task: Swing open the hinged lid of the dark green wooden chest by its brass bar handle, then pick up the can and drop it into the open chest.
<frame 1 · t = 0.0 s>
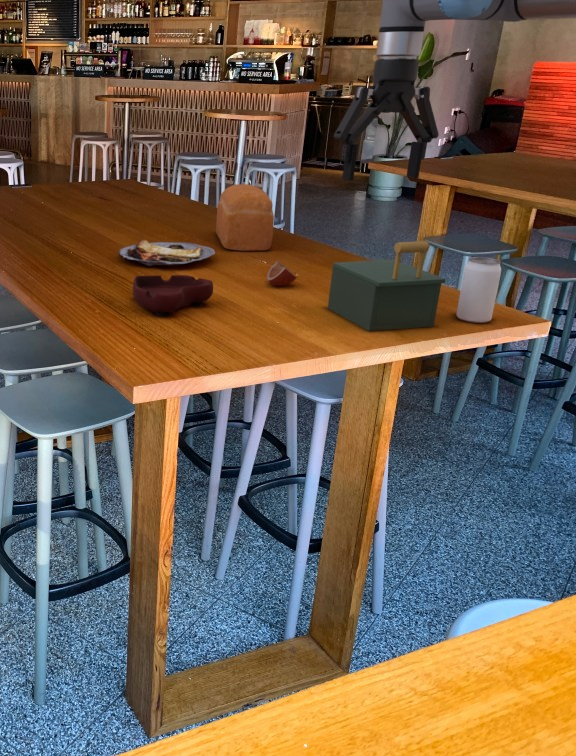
hand: (380, 178, 151), 28 cm above the table, tool pointing down, fingers open, 13 cm apart
ashtray: (163, 305, 170), on the table
lid: (389, 254, 156), point 13 cm above the table, hinge at 0.0°
fruit slice: (280, 285, 185), on the table
can: (473, 319, 160), on the table
bread: (242, 242, 231), on the table
chest: (378, 317, 161), on the table
food plate: (165, 260, 210), on the table
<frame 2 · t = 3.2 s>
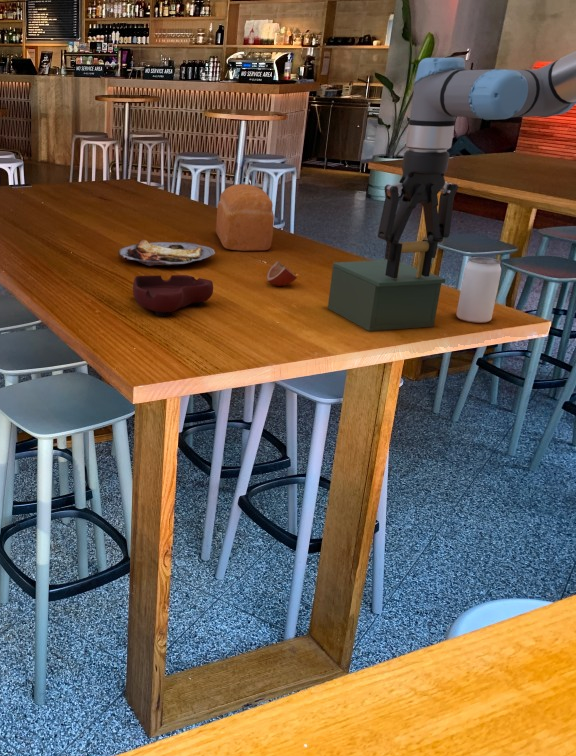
hand: (407, 275, 151), 10 cm above the table, tool pointing down, fingers closed on lid, 6 cm apart
lid: (389, 254, 156), point 13 cm above the table, hinge at 0.0°, touching gripper
everything else where it was.
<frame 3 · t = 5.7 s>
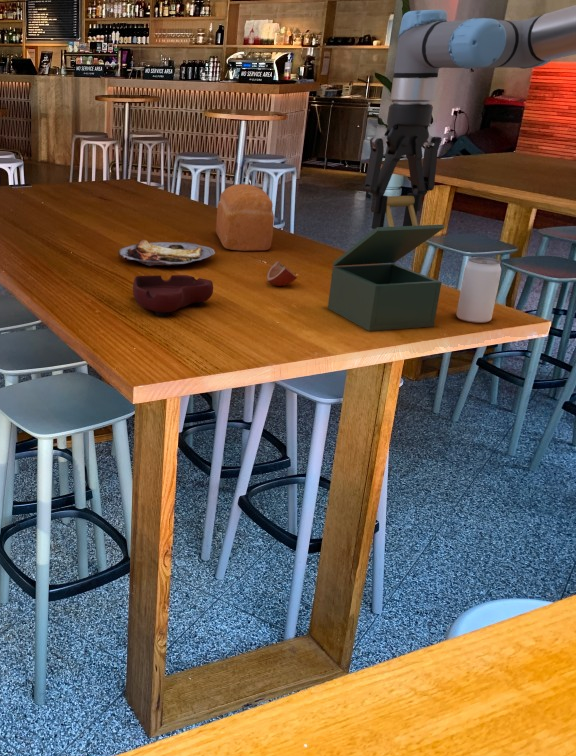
hand: (392, 228, 154), 18 cm above the table, tool pointing down, fingers closed on lid, 6 cm apart
lid: (382, 229, 157), point 17 cm above the table, hinge at 35.5°, touching gripper
everything else where it was.
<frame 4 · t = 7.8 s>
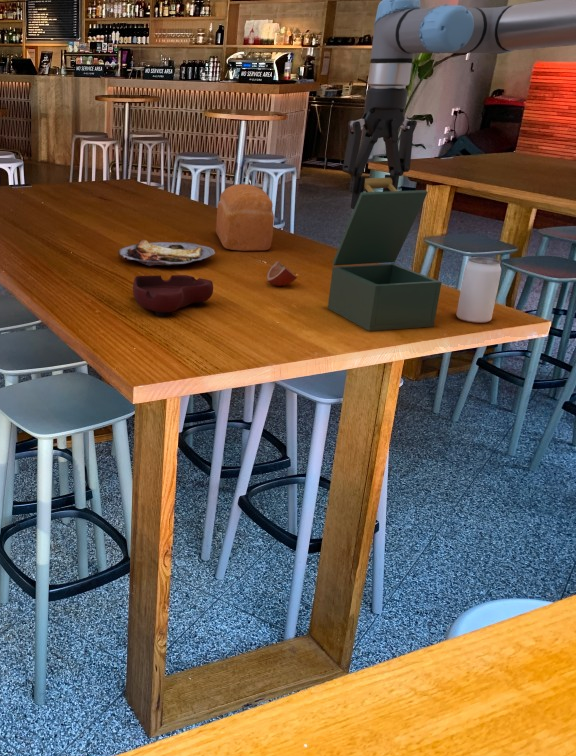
hand: (370, 208, 161), 21 cm above the table, tool pointing down, fingers closed on lid, 6 cm apart
lid: (370, 218, 161), point 19 cm above the table, hinge at 65.4°, touching gripper
everything else where it was.
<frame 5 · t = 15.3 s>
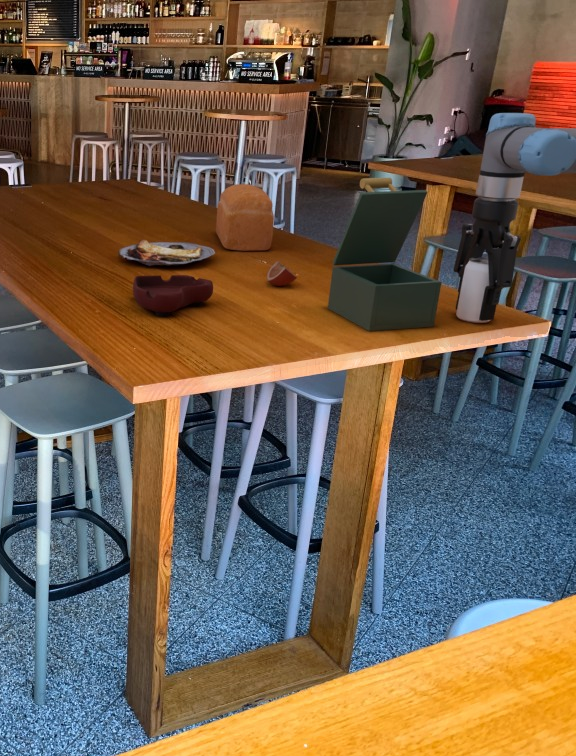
hand: (474, 314, 159), 1 cm above the table, tool pointing down, fingers closed on can, 6 cm apart
lid: (370, 218, 161), point 19 cm above the table, hinge at 65.5°
can: (473, 319, 160), on the table, touching gripper
everything else where it was.
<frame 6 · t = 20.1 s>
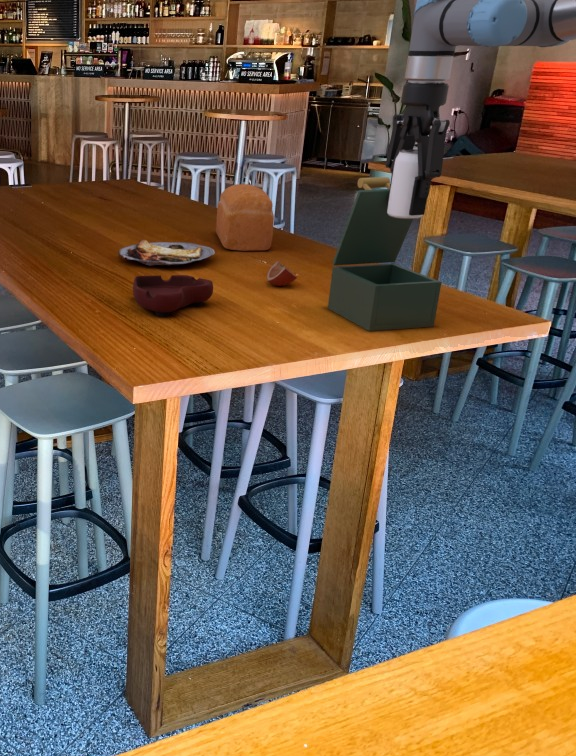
hand: (405, 210, 151), 22 cm above the table, tool pointing down, fingers closed on can, 6 cm apart
lid: (369, 218, 162), point 19 cm above the table, hinge at 68.3°, touching gripper
can: (404, 217, 151), point 21 cm above the table, touching gripper
everything else where it was.
when the fingers open (22 cm above the table, at t = 20.7 s): can drops 20 cm, resting on chest.
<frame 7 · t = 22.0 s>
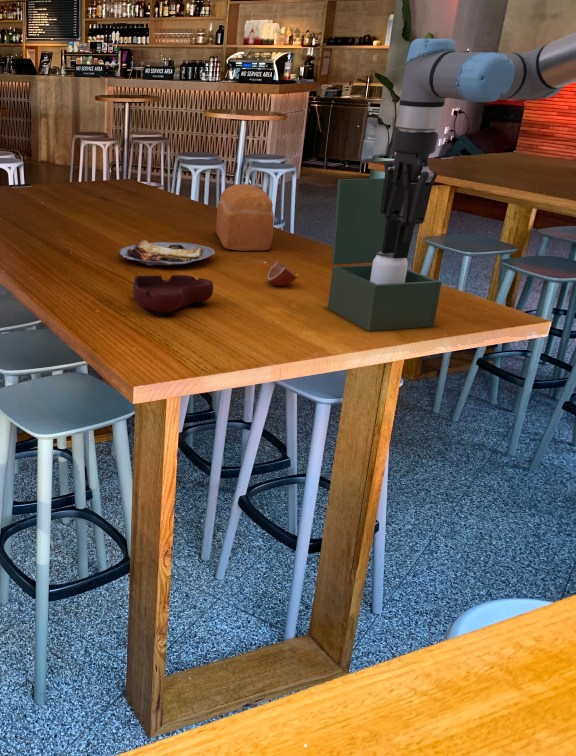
hand: (394, 254, 155), 13 cm above the table, tool pointing down, fingers open, 3 cm apart
lid: (357, 220, 166), point 18 cm above the table, hinge at 95.6°
can: (382, 313, 161), point 1 cm above the table, touching chest, gripper
everything else where it was.
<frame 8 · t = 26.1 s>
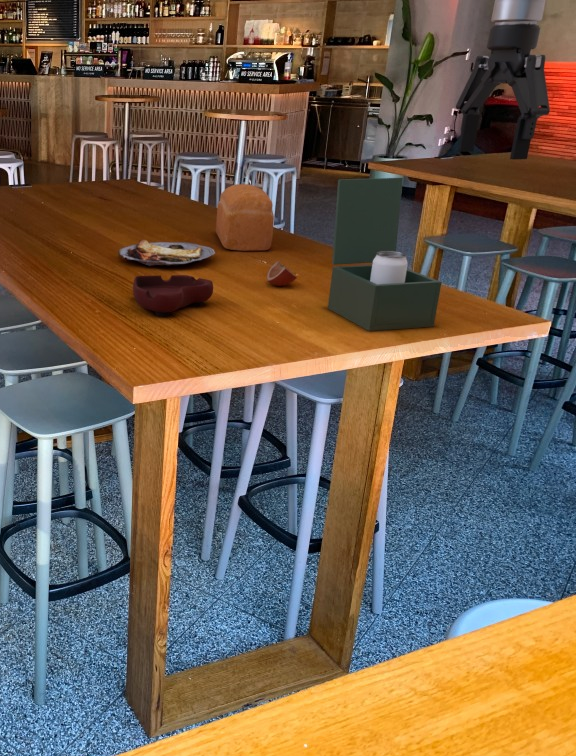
hand: (490, 155, 141), 33 cm above the table, tool pointing down, fingers open, 13 cm apart
can: (382, 313, 161), point 1 cm above the table, touching chest
everything else where it was.
at the end: lid at +96° (first picture: +0°); can inside the target area in the chest (0.6 cm from its centre), point 0.8 cm above the chest's base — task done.
